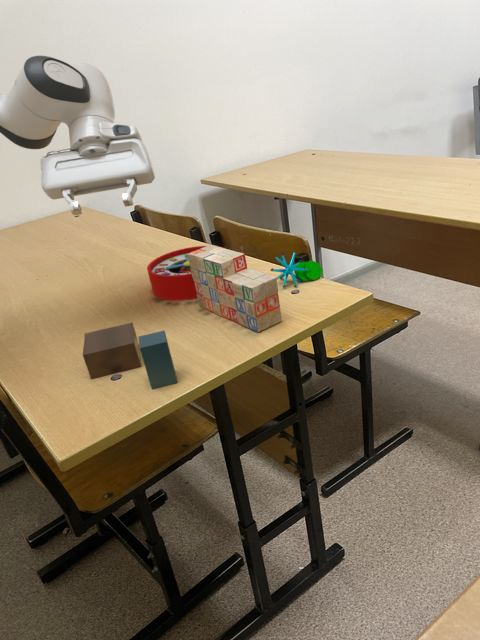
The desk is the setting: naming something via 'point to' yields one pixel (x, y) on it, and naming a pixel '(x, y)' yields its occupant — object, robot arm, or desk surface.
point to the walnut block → (111, 350)
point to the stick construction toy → (298, 270)
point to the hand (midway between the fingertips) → (102, 208)
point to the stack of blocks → (234, 288)
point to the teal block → (157, 359)
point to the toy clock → (173, 275)
